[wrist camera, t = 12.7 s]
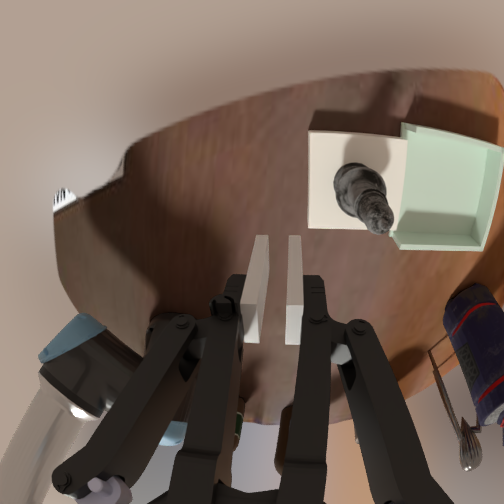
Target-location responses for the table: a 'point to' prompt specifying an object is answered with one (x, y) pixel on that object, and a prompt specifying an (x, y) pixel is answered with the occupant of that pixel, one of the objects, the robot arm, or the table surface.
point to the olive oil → (283, 439)
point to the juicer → (466, 435)
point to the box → (447, 190)
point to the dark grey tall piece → (363, 196)
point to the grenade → (479, 349)
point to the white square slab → (343, 152)
